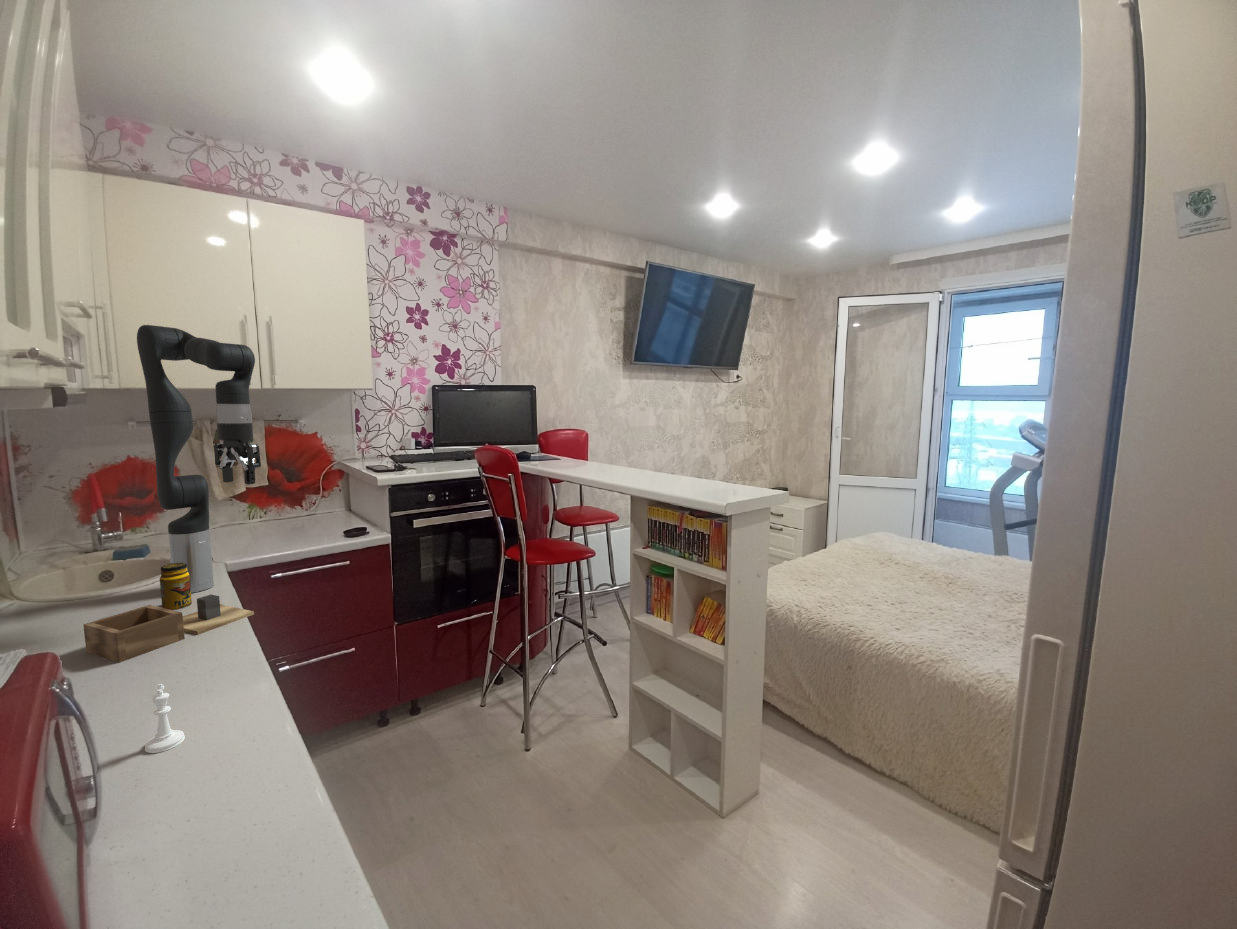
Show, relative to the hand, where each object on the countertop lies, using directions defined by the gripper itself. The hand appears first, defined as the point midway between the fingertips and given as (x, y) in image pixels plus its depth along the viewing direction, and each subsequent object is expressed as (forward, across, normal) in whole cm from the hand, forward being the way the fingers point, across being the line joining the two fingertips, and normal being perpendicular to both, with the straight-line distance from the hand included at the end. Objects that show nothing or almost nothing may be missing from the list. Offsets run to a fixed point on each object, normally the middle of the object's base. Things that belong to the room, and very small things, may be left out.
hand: (239, 483), depth 140 cm
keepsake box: (+33, -4, +27) cm, 43 cm away
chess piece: (+33, -47, +45) cm, 73 cm away
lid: (+33, -4, +12) cm, 35 cm away
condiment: (+33, +14, +10) cm, 38 cm away
